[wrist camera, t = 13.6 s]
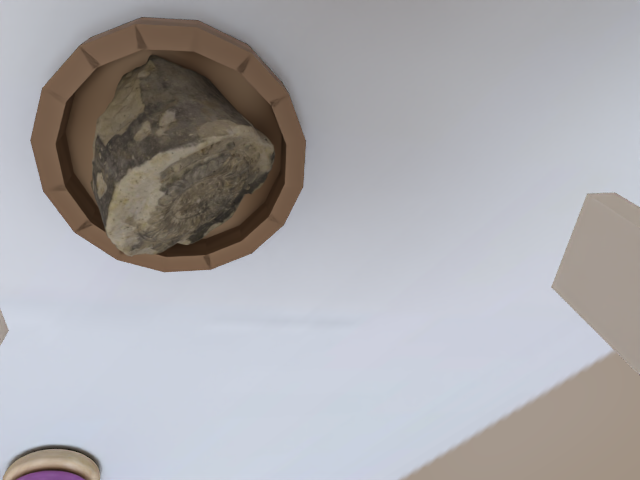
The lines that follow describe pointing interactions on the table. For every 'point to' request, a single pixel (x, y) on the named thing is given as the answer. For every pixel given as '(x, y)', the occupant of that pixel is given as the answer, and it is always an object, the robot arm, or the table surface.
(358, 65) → the table surface
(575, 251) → the robot arm
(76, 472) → the stacking toy
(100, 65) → the round tray
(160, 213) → the grey brown rock
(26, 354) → the table surface
